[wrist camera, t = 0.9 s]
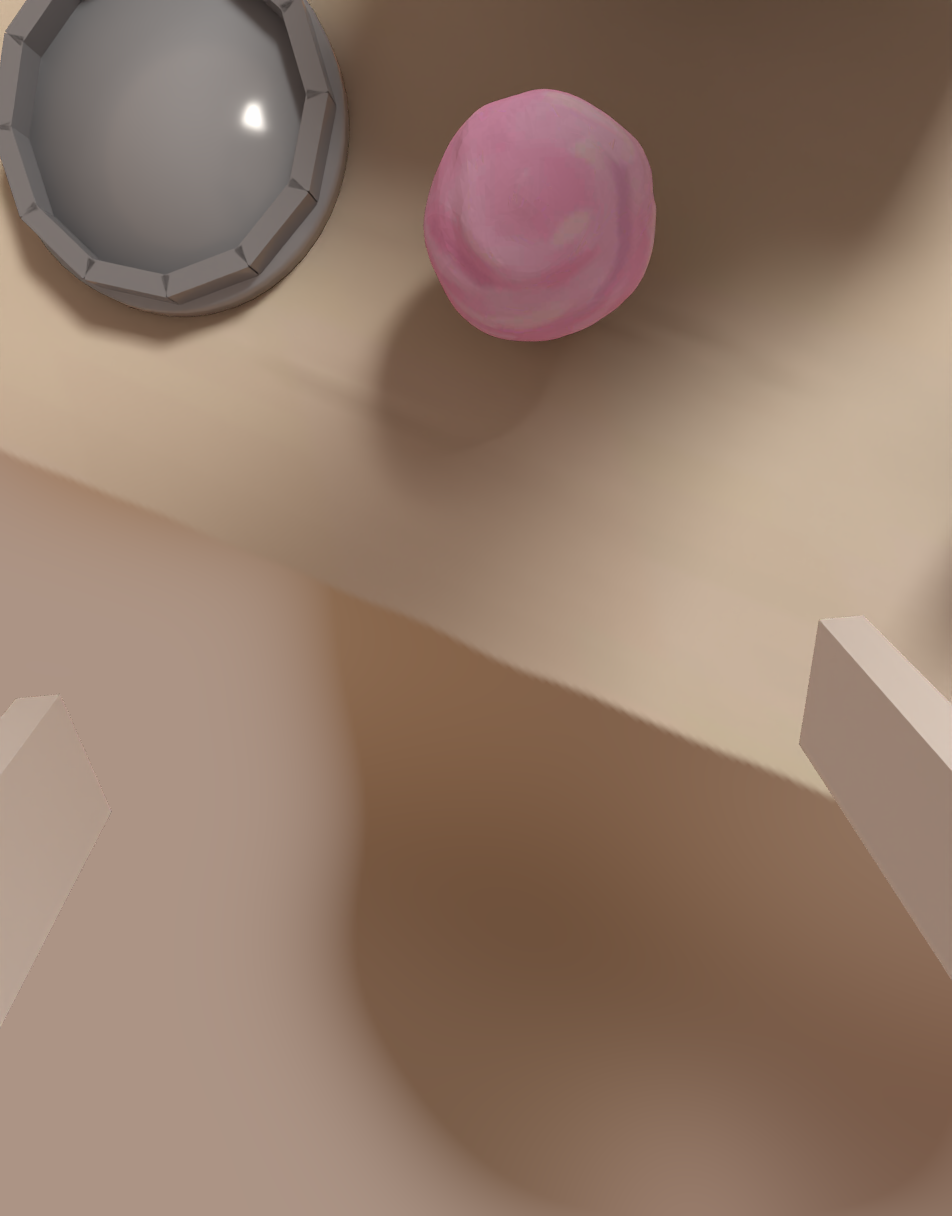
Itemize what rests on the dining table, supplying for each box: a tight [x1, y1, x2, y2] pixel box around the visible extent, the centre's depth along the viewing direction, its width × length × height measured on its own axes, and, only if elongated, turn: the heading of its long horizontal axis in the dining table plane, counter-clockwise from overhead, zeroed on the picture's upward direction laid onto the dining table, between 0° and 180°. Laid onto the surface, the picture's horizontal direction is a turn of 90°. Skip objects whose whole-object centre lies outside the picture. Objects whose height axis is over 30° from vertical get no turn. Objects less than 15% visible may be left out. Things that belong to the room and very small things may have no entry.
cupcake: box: [424, 89, 656, 341], centre depth 31 cm, size 9×9×10 cm
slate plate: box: [0, 0, 349, 317], centre depth 36 cm, size 17×17×2 cm
